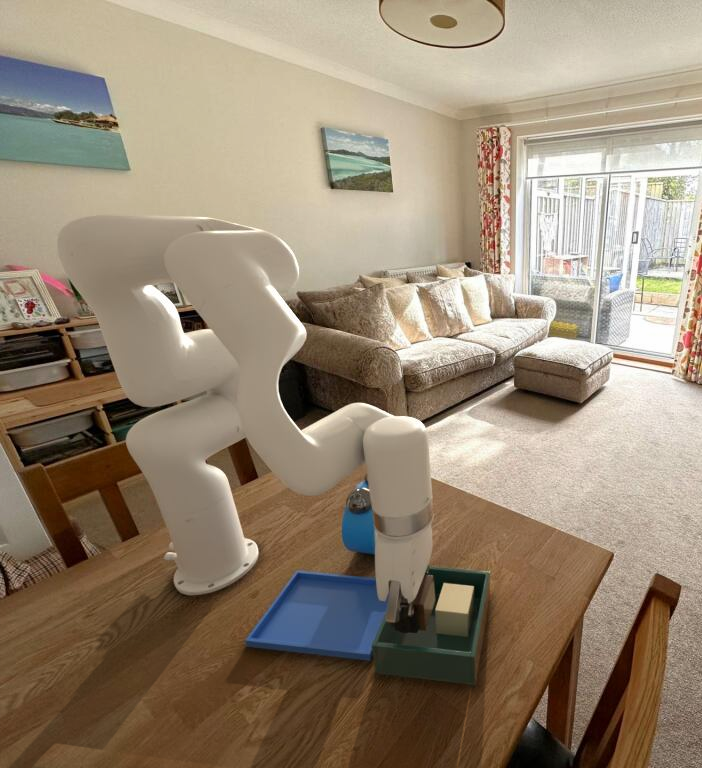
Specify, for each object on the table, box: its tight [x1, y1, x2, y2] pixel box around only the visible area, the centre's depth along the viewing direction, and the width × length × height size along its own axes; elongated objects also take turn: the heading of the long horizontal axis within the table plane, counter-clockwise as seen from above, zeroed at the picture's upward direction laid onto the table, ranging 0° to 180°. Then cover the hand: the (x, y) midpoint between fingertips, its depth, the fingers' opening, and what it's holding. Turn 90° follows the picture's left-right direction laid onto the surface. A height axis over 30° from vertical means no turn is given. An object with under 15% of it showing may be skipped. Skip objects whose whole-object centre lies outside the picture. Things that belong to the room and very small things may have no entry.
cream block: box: [435, 583, 474, 637], centre depth 63 cm, size 5×5×5 cm
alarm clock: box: [341, 473, 377, 555], centre depth 77 cm, size 13×6×15 cm, turn 172°
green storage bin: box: [372, 565, 491, 688], centre depth 62 cm, size 14×14×6 cm
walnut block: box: [391, 575, 435, 631], centre depth 58 cm, size 5×5×5 cm
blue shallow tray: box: [244, 570, 389, 662], centre depth 65 cm, size 19×13×2 cm
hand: (413, 610), depth 58 cm, fingers closed on walnut block, 5 cm apart
